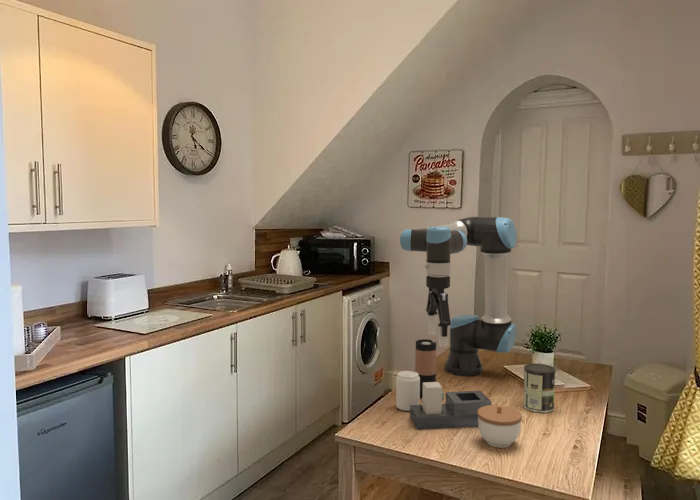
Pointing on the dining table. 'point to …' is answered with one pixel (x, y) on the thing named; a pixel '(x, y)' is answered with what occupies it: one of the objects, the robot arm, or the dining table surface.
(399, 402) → the beverage can
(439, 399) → the plug
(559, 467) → the dining table surface
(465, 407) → the grey stepped socket block
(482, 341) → the robot arm
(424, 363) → the travel mug
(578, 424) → the dining table surface
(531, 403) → the coffee can
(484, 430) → the lidded bowl
